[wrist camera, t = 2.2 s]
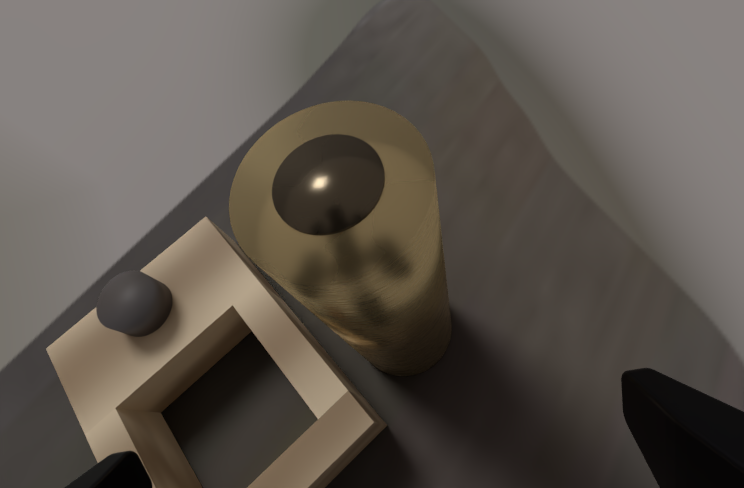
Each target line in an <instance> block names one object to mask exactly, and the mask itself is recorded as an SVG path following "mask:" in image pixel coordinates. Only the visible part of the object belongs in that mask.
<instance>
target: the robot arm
mask: <svg viewBox="0 0 744 488" xmlns="http://www.w3.org/2000/svg"><path fill="white" fill-rule="evenodd" d="M621 382H622V401H623V413H624V417H625V420H626V423H627V425H628V427H629V429H630V431H631V433H632V435H633V437H634V439H635V441H636V443H637V444H638V446H639V448H640V450H641V452H642V454H643V456H644V458H645V460H646V462H647V464H648V466H649V468H650V470H651V471H652V473H653V475H654V477H655V479H656V481H657V483H658V485H659V487H660V488H744V412H743V411H741V410H739V409H737V408H735V407H732V406H730V405H728V404H726V403H724V402H722V401H720V400H717V399H715V398H713V397H711V396H709V395H707V394H705V393H702V392H700V391H698V390H696V389H694V388H692V387H690V386H687V385H685V384H683V383H681V382H679V381H677V380H675V379H672V378H670V377H668V376H666V375H664V374H662V373H660V372H657V371H655V370H653V369H650V368H641V369H635V370H629V371H625V372H624V373H623V374H622V378H621ZM65 488H152V481H151V479H150V477H149V475H148V473H147V471H146V469H145V467H144V465H143V463H142V462H141V460H140V458H139V456H138V454H137V453H135V452H134V451H124V452H117V453H113V454H111V455H109V456H107V457H106V458H104V459H103V460H102V461H100V462H99V463H98V464H96V465H95V466H93V467H92V468H91V469H89V470H88V471H87V472H85V473H84V474H82V475H81V476H80V477H78V478H77V479H76V480H74V481H73V482H71V483H70V484H69V485H67V486H66V487H65Z"/></svg>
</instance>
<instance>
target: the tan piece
mask: <svg viewBox="0 0 744 488" xmlns="http://www.w3.org/2000/svg"><path fill="white" fill-rule="evenodd" d="M229 214H230V222H231V226H232V229H233V232H234V235H235V237H236V239H237V241H238V243H239V245H240V247H241V248H242V249H243V251H244V252H245V254H246V255H247V256H248V257H249V258H250V259H251V260H252V261H253V262H254V263H255V264H256V265H257V266H259V267H260V268H261V269H262V270H263V271H264V272H266V273H267V274H268V275H269V276H270V277H271V278H273V279H274V280H275V281H276V282H277V283H278V284H280V285H281V286H282V287H283V288H284V289H285V290H286V291H288V292H289V293H290V294H291V295H292V296H293V297H295V298H296V299H297V300H298V301H299V302H300V303H302V304H303V305H304V306H305V307H306V308H307V309H309V310H310V311H311V312H312V313H313V314H314V315H315V316H317V317H318V318H319V319H320V320H321V321H322V322H324V323H325V324H326V325H327V326H328V327H329V328H331V329H332V330H333V331H334V332H335V333H336V334H338V335H339V336H340V337H341V338H342V339H343V340H345V341H346V342H347V343H348V344H349V345H350V346H351V347H353V348H354V349H355V350H356V351H357V352H358V353H360V354H361V355H362V356H363V357H364V358H365V359H367V360H368V361H369V362H370V363H371V364H372V365H374V366H375V367H376V368H378V369H379V370H381V371H383V372H385V373H388V374H391V375H395V376H411V375H416V374H419V373H422V372H424V371H426V370H428V369H429V368H431V367H432V366H434V365H435V364H436V363H437V362H438V361H439V360H440V359H441V358H442V356H443V355H444V353H445V351H446V349H447V347H448V345H449V342H450V338H451V329H452V327H451V317H450V307H449V298H448V289H447V280H446V271H445V262H444V253H443V244H442V235H441V226H440V217H439V208H438V199H437V190H436V181H435V172H434V164H433V160H432V156H431V153H430V150H429V148H428V146H427V143H426V142H425V140H424V138H423V137H422V135H421V134H420V133H419V131H418V130H417V129H416V128H415V127H414V126H413V125H412V124H411V123H410V122H409V121H408V120H406V119H405V118H404V117H402V116H401V115H399V114H398V113H396V112H394V111H392V110H390V109H388V108H385V107H383V106H379V105H376V104H373V103H367V102H362V101H335V102H329V103H323V104H319V105H315V106H312V107H309V108H306V109H304V110H301V111H299V112H297V113H295V114H292V115H290V116H289V117H287V118H285V119H284V120H282V121H280V122H279V123H277V124H276V125H275V126H273V127H272V128H271V129H269V130H268V131H267V132H266V133H265V134H264V135H263V136H261V137H260V138H259V140H258V141H257V142H256V143H255V144H254V145H253V146H252V147H251V149H250V150H249V152H248V153H247V154H246V156H245V157H244V159H243V161H242V162H241V164H240V166H239V168H238V170H237V172H236V175H235V177H234V180H233V184H232V187H231V192H230V199H229Z"/></svg>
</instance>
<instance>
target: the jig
mask: <svg viewBox="0 0 744 488" xmlns="http://www.w3.org/2000/svg"><path fill="white" fill-rule="evenodd" d="M251 331H252V332H253V333H254V334H255V336H256V337H257V338H258V340H259V341H260V342H261V344H262V345H263V346H264V348H265V349H266V350H267V352H268V353H269V354H270V356H271V357H272V358H273V360H274V361H275V362H276V364H277V365H278V366H279V368H280V369H281V370H282V372H283V373H284V374H285V376H286V377H287V378H288V380H289V381H290V382H291V384H292V385H293V386H294V388H295V389H296V390H297V392H298V393H299V394H300V396H301V397H302V398H303V400H304V401H305V402H306V404H307V405H308V406H309V408H310V409H311V410H312V412H313V413H314V414H315V416H316V417H317V418H318V420H317V421H316V422H315V423H314V424H313V425H312V426H311V427H310V428H309V429H308V430H307V431H306V432H305V433H303V434H302V435H301V436H300V437H299V438H298V439H297V440H296V441H295V442H294V443H293V444H292V445H291V446H290V447H289V448H288V449H287V450H286V451H285V452H284V453H283V454H282V455H281V456H280V457H279V458H277V459H276V460H275V461H274V462H273V463H272V464H271V465H270V466H269V467H268V468H267V469H266V470H265V471H264V472H263V473H262V474H261V475H260V476H259V477H258V478H257V479H256V480H255V481H254V482H253V483H252V484H250V485H249V486H248V487H247V488H325V487H326V486H327V485H328V484H329V483H330V482H331V481H332V480H333V479H334V478H335V477H336V476H337V475H338V474H339V473H340V472H341V471H342V470H343V469H344V468H345V467H346V466H347V465H348V464H349V463H350V462H351V461H352V460H353V459H354V458H355V457H356V456H357V455H358V454H359V453H360V452H361V451H362V450H363V449H364V448H365V447H366V446H367V445H368V444H369V443H370V442H371V441H372V440H373V439H374V438H375V437H376V436H377V435H378V434H379V433H380V432H381V431H382V430H383V429H384V428H385V427H386V426H387V425H386V423H385V422H384V421H383V420H382V419H381V417H380V416H379V415H378V414H377V413H376V411H375V410H374V409H373V408H372V407H371V405H370V404H369V403H368V402H367V401H366V399H365V398H364V397H363V396H362V395H361V393H360V392H359V391H358V390H357V389H356V387H355V386H354V385H353V384H352V382H351V381H350V380H349V379H348V378H347V376H346V375H345V374H344V373H343V372H342V370H341V369H340V368H339V367H338V366H337V364H336V363H335V362H334V361H333V360H332V358H331V357H330V356H329V355H328V354H327V352H326V351H325V350H324V349H323V348H322V346H321V345H320V344H319V343H318V342H317V340H316V339H315V338H314V337H313V336H312V334H311V333H310V332H309V331H308V329H307V328H306V327H305V326H304V325H303V323H302V322H301V321H300V320H299V319H298V317H297V316H296V315H295V314H294V313H293V311H292V310H291V309H290V308H289V307H288V305H287V304H286V303H285V302H284V301H283V299H282V298H281V297H280V296H279V295H278V293H277V292H276V291H275V290H274V289H273V287H272V286H271V285H270V284H269V282H268V281H267V280H266V279H265V278H264V276H263V275H262V274H261V273H260V272H259V270H258V269H257V268H256V267H255V266H254V264H253V263H252V262H251V261H250V260H249V258H248V257H247V256H246V255H245V254H244V252H243V251H242V250H241V249H240V248H239V246H238V245H237V244H236V243H235V242H234V241H233V240H232V239H231V238H230V237H229V236H227V235H226V234H225V233H224V232H223V231H222V230H221V229H219V228H218V227H217V226H216V225H215V224H214V223H213V222H212V221H210V220H209V219H208V218H207V217H205V218H204V219H202V220H201V221H200V222H199V223H198V224H196V225H195V226H194V227H193V228H191V229H190V230H189V231H188V232H187V233H185V234H184V235H183V236H182V237H181V238H179V239H178V240H177V241H176V242H175V243H173V244H172V245H171V246H170V247H168V248H167V249H166V250H165V251H164V252H162V253H161V254H160V255H159V256H158V257H156V258H155V259H154V260H153V261H152V262H150V263H149V264H148V265H147V266H146V267H144V268H143V269H142V270H141V271H137V270H130V271H125V272H123V273H120V274H118V275H117V276H115V277H114V278H112V279H111V280H110V281H109V282H108V283H107V284H106V286H105V287H104V288H103V290H102V291H101V293H100V295H99V298H98V301H97V306H96V308H95V309H94V310H92V311H91V312H90V313H89V314H87V315H86V316H85V317H84V318H83V319H81V320H80V321H79V322H78V323H77V324H75V325H74V326H73V327H72V328H71V329H69V330H68V331H67V332H66V333H64V334H63V335H62V336H61V337H60V338H58V339H57V340H56V341H55V342H54V343H52V344H51V345H50V346H49V347H48V348H46V350H47V352H48V354H49V356H50V359H51V361H52V363H53V365H54V367H55V370H56V372H57V374H58V376H59V378H60V381H61V383H62V385H63V387H64V389H65V392H66V394H67V396H68V398H69V400H70V403H71V405H72V407H73V409H74V411H75V414H76V416H77V418H78V420H79V422H80V425H81V427H82V429H83V431H84V433H85V436H86V438H87V440H88V442H89V444H90V447H91V449H92V451H93V453H94V455H95V458H96V460H97V462H98V463H99V462H100V461H102V460H103V459H104V458H106V457H107V456H109V455H111V454H113V453H117V452H124V451H134V452H135V453H137V454H138V456H139V458H140V460H141V462H142V463H143V465H144V467H145V469H146V471H147V473H148V475H149V477H150V479H151V481H152V488H203V487H202V486H201V484H200V482H199V480H198V478H197V477H196V475H195V473H194V471H193V469H192V468H191V466H190V464H189V462H188V461H187V459H186V457H185V455H184V453H183V452H182V450H181V448H180V446H179V445H178V443H177V441H176V439H175V437H174V436H173V434H172V432H171V430H170V428H169V427H168V425H167V423H166V421H165V420H164V418H163V416H162V414H161V412H162V411H163V410H164V409H165V408H167V407H168V406H169V405H170V404H171V403H172V402H173V401H174V400H175V399H177V398H178V397H179V396H180V395H181V394H182V393H183V392H184V391H186V390H187V389H188V388H189V387H190V386H191V385H192V384H193V383H194V382H196V381H197V380H198V379H199V378H200V377H201V376H202V375H203V374H205V373H206V372H207V371H208V370H209V369H210V368H211V367H212V366H213V365H215V364H216V363H217V362H218V361H219V360H220V359H221V358H222V357H224V356H225V355H226V354H227V353H228V352H229V351H230V350H231V349H232V348H234V347H235V346H236V345H237V344H238V343H239V342H240V341H241V340H243V339H244V338H245V337H246V336H247V335H248V334H249V333H250V332H251Z"/></svg>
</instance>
